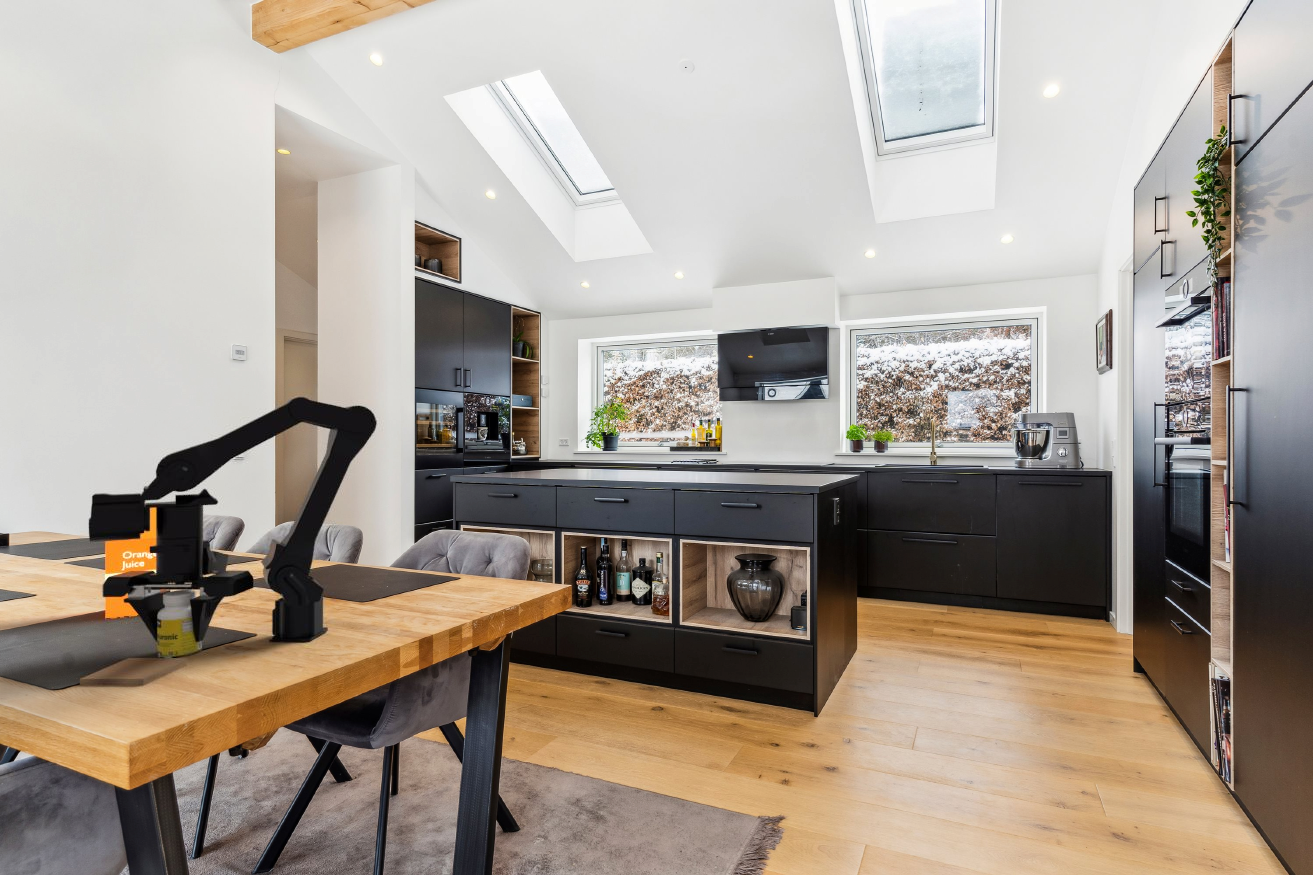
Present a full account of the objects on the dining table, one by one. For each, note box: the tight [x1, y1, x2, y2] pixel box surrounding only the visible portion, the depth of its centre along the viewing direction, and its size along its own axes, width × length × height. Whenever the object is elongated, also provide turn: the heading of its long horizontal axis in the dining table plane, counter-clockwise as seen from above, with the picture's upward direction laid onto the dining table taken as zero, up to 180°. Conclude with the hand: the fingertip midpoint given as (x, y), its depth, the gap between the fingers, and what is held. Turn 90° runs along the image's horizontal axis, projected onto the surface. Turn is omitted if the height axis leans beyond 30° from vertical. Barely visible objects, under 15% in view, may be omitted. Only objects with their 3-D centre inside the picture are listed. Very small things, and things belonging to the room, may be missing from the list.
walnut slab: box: [79, 657, 187, 687], centre depth 89 cm, size 8×8×2 cm
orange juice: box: [104, 508, 156, 620], centre depth 124 cm, size 8×9×20 cm
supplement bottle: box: [156, 590, 203, 658], centre depth 99 cm, size 5×5×10 cm
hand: (179, 641), depth 99 cm, fingers closed on supplement bottle, 5 cm apart
